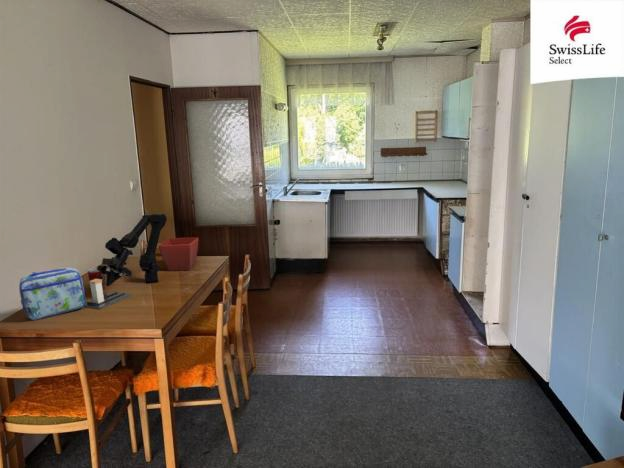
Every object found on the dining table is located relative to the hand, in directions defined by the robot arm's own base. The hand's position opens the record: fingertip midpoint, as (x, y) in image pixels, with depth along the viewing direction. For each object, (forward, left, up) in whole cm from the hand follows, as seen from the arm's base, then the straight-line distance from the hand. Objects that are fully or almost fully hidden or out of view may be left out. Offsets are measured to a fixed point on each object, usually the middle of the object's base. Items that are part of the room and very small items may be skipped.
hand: (107, 286), depth 233 cm
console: (0, 0, -7) cm, 7 cm away
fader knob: (+4, +5, -6) cm, 9 cm away
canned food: (+7, -23, -8) cm, 25 cm away
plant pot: (-38, -44, -8) cm, 58 cm away
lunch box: (+22, +8, -8) cm, 25 cm away
